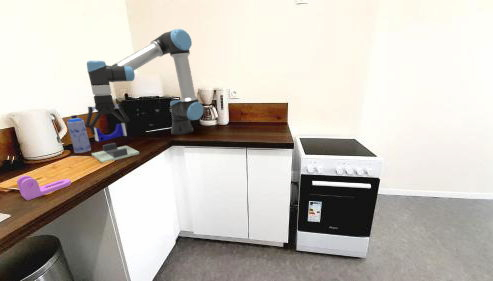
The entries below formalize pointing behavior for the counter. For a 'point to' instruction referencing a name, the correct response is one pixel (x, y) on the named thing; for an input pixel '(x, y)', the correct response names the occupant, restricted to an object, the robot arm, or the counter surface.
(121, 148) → the board
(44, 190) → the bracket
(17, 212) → the counter surface
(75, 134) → the aerosol can
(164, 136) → the counter surface
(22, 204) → the counter surface
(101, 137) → the cable clip
